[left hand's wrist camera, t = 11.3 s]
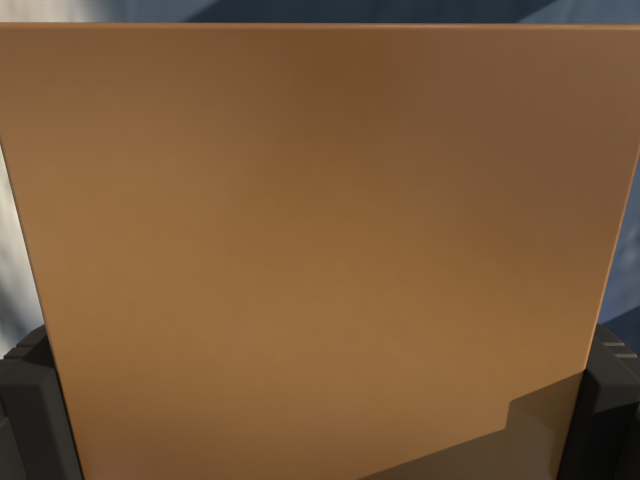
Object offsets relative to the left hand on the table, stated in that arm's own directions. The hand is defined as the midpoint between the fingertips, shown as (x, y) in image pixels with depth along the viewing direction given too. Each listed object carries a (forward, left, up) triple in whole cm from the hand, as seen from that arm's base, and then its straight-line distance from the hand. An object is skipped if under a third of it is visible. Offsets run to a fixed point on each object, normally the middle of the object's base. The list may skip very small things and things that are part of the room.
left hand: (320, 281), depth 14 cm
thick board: (+21, +4, -1) cm, 21 cm away
